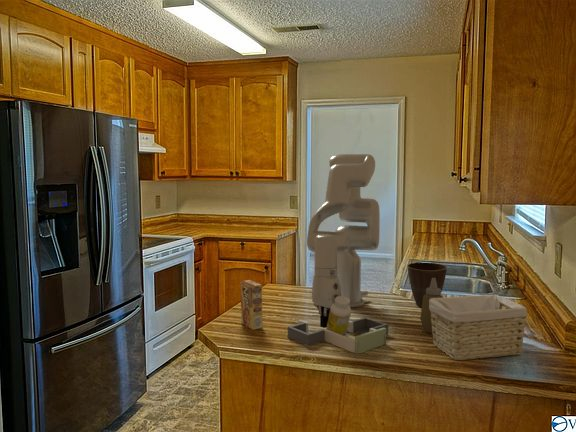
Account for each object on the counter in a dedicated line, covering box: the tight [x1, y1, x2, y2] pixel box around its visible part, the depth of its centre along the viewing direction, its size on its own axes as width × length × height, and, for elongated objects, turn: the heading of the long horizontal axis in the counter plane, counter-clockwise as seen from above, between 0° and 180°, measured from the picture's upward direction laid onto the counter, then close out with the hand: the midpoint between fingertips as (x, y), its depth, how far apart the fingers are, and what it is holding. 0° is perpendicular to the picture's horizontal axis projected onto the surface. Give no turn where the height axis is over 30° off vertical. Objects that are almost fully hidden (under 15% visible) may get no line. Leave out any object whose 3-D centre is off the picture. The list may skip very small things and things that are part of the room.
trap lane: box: [287, 316, 389, 355], centre depth 159 cm, size 27×27×5 cm
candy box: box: [239, 279, 264, 330], centre depth 170 cm, size 9×4×15 cm, turn 33°
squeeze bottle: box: [419, 278, 444, 334], centre depth 164 cm, size 8×8×18 cm
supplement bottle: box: [325, 296, 352, 336], centre depth 157 cm, size 7×7×13 cm
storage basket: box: [429, 294, 528, 361], centre depth 147 cm, size 24×16×15 cm
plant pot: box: [407, 262, 448, 309], centre depth 193 cm, size 15×15×16 cm
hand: (325, 326), depth 163 cm, fingers closed
